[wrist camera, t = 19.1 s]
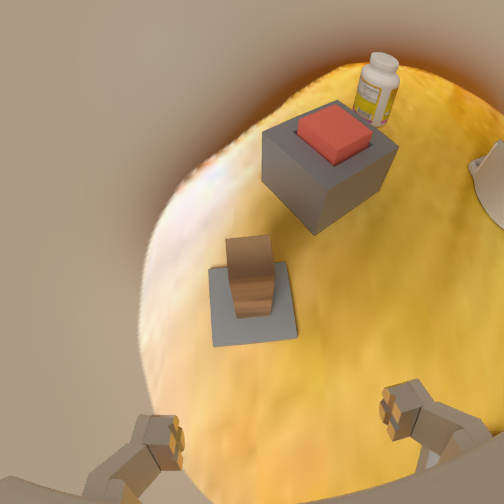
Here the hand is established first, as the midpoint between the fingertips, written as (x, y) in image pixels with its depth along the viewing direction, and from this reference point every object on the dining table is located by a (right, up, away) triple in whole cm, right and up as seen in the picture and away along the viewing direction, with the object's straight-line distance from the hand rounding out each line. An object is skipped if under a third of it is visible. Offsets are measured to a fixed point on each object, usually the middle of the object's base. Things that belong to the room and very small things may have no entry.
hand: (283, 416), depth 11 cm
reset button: (+9, +18, +27) cm, 34 cm away
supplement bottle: (+20, +31, +40) cm, 54 cm away
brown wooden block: (-1, +1, +24) cm, 24 cm away
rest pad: (-1, +1, +24) cm, 24 cm away
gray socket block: (+9, +16, +32) cm, 37 cm away
